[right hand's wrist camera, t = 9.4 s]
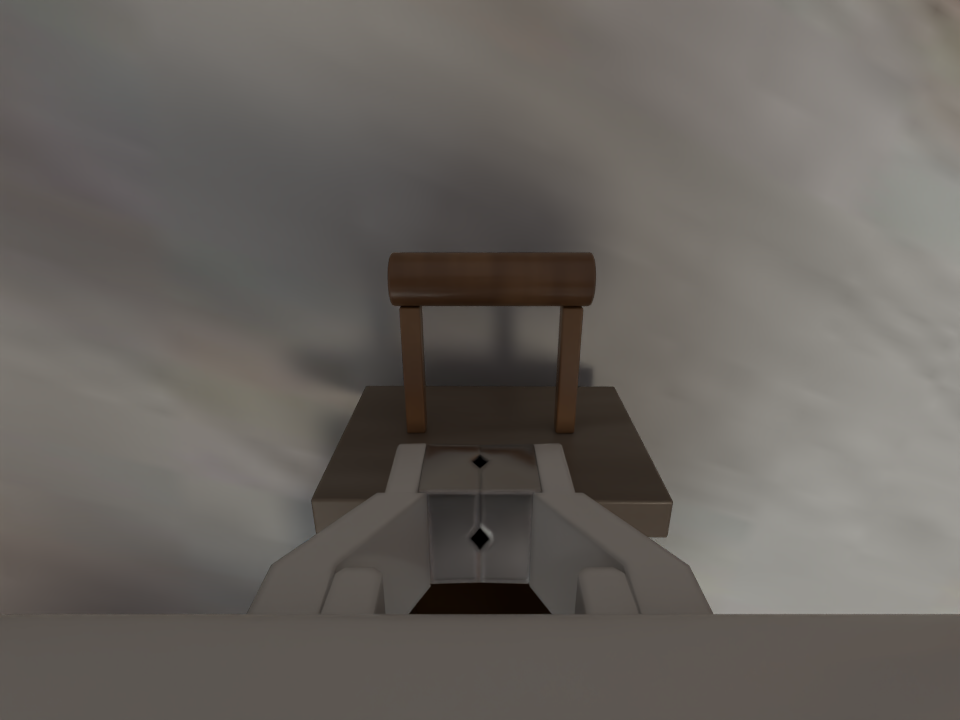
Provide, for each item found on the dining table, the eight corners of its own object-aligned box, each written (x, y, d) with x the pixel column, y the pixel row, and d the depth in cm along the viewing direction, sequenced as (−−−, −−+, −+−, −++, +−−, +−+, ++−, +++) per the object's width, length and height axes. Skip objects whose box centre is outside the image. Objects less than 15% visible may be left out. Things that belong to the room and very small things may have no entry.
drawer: (351, 233, 18) (278, 286, 12) (630, 233, 18) (709, 286, 12) (386, 615, 25) (351, 782, 18) (591, 616, 25) (627, 785, 18)
